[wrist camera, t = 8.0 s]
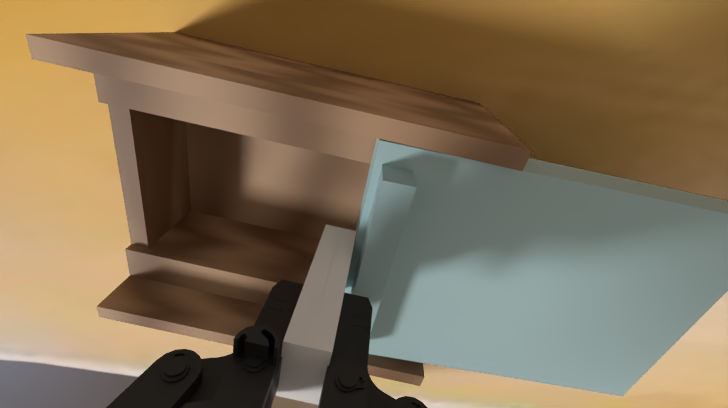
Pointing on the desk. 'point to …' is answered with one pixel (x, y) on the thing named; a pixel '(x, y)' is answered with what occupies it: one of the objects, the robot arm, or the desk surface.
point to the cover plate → (532, 267)
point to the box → (247, 168)
